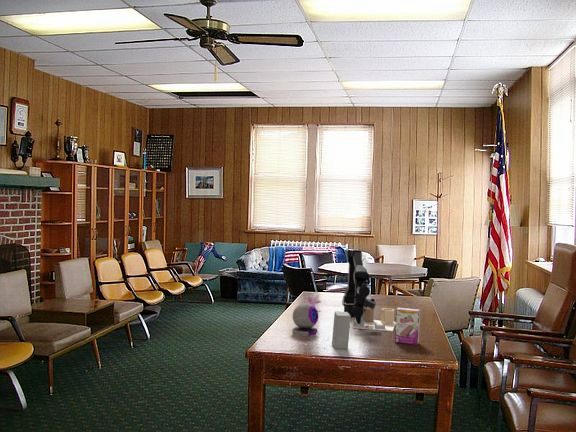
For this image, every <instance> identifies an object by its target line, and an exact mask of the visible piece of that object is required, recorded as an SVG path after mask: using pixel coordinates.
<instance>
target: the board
mask: <svg viewBox="0 0 576 432" xmlns="http://www.w3.org/2000/svg"><path fill="white" fill-rule="evenodd" d="M365 308H366V307H364V309H365ZM380 310H381V311H380V312H381V313H380V314H381V316H380V320H377V319H375V308H374V309H371V308H370V309H366V310H365V311H364V313H363V316H362V317H363V322H362V323H360V324H358V323H357V322H356V319H354V320H353V326H352V329H360V330H361V329H362V330H369V331H370V330H371V331H380V332H381V331H382V332H384V331H385V332H394V329H395V325H396V321H395V309H394V308H392V307H391V308H387V307H383V308H381V309H380Z"/></svg>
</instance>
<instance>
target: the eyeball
mask: <svg viewBox="0 0 576 432" xmlns="http://www.w3.org/2000/svg"><path fill="white" fill-rule="evenodd" d="M292 320H293V323H294V324H295V327H293V328H292V331H291V332H292V334H294V335H296V336H297V335H298V336H304V337H305V336H306V337H307V336H314V335H316V334H317V333H318V328H315V327H314V326H315V325H317V323H318V321H319V312H318V310H317V308H316V306H315V307H314V306H313V305H311V304H308V303H303V304H302V303H300V304H298V305H296V307H295V308H294V310H293V312H292Z"/></svg>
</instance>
